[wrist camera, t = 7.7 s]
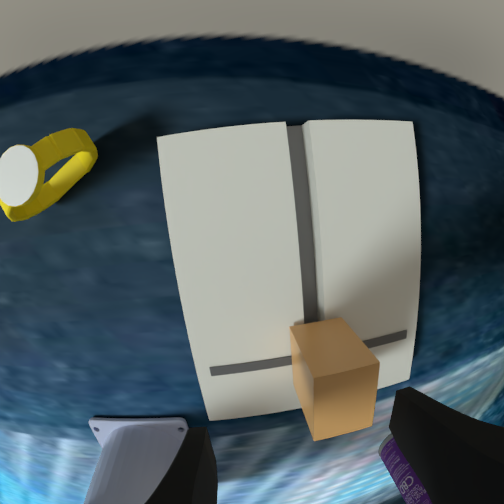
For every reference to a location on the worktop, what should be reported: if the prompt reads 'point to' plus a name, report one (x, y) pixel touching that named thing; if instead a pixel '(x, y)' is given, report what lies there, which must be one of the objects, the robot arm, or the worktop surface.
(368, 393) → the fader tab
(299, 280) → the fader console
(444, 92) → the worktop surface
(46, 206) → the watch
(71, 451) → the worktop surface
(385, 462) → the container
